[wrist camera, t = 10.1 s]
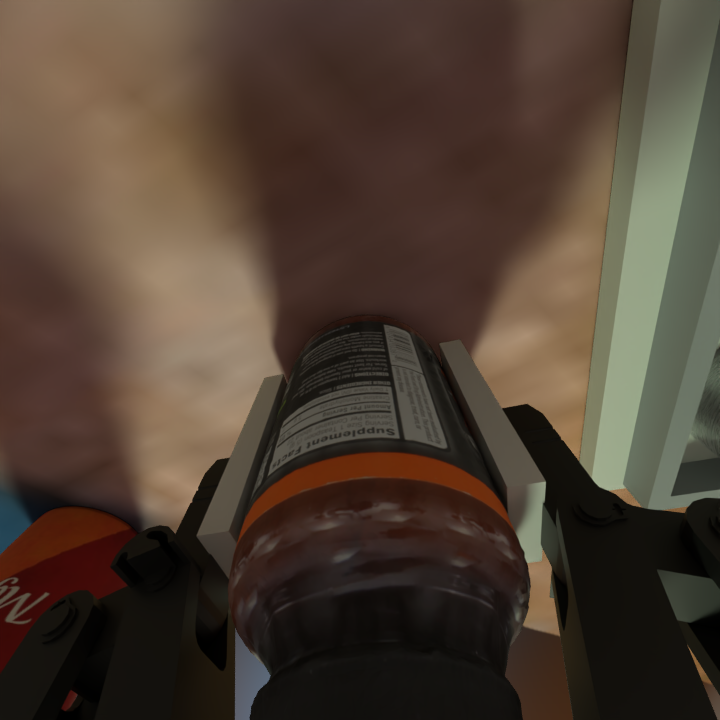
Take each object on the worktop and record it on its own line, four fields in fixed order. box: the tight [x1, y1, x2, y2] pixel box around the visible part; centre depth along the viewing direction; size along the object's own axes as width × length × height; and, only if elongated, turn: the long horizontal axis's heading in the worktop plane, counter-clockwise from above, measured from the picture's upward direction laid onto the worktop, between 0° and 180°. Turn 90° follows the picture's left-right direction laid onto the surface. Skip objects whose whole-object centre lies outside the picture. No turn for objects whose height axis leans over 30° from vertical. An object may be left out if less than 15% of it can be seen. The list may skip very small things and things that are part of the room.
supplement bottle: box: [228, 315, 531, 720], centre depth 9 cm, size 6×6×11 cm
